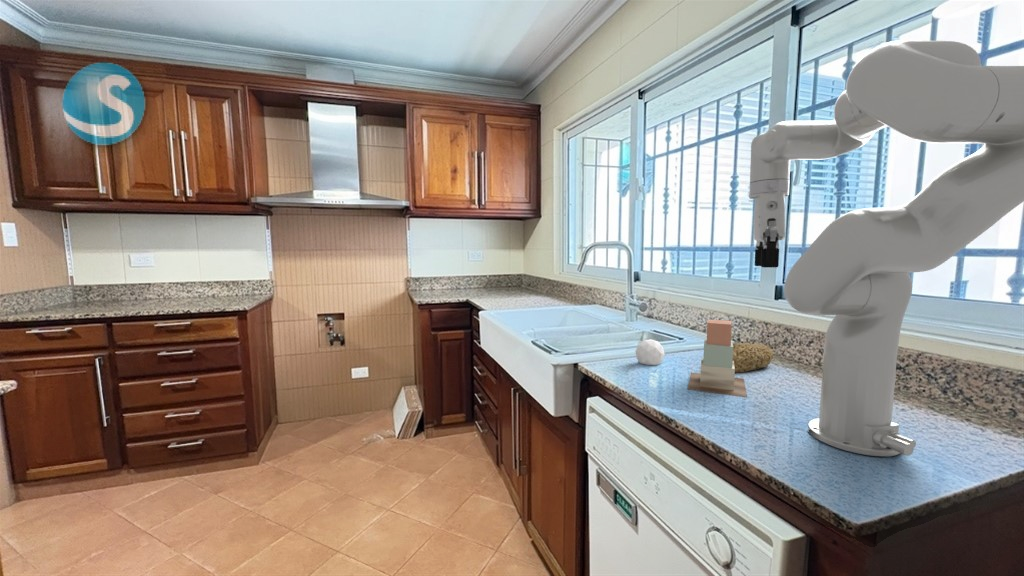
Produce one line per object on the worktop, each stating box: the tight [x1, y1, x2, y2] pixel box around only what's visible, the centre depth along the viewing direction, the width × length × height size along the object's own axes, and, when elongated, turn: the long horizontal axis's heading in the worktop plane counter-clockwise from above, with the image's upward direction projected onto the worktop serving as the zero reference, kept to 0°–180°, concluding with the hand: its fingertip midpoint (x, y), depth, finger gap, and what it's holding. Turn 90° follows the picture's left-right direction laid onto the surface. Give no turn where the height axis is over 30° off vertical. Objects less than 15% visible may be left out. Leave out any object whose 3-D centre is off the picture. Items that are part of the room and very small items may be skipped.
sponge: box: [733, 342, 775, 373], centre depth 113 cm, size 13×8×20 cm
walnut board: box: [687, 371, 748, 399], centre depth 97 cm, size 14×12×1 cm
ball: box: [634, 339, 665, 366], centre depth 115 cm, size 8×8×8 cm
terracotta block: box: [706, 319, 733, 346], centre depth 96 cm, size 5×5×5 cm
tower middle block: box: [702, 338, 734, 368], centre depth 96 cm, size 6×6×5 cm
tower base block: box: [700, 357, 736, 391], centre depth 97 cm, size 7×7×5 cm
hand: (765, 266), depth 93 cm, fingers open, 9 cm apart
